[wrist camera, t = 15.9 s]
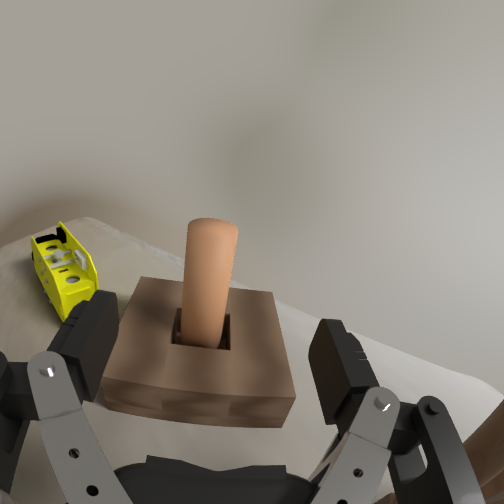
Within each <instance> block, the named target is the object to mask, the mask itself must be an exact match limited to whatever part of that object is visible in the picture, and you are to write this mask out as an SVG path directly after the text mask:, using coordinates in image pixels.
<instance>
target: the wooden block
mask: <svg viewBox="0 0 504 504" xmlns="http://www.w3.org/2000/svg"><path fill="white" fill-rule="evenodd" d="M463 446H464V448H465V451H466V453H467V456H468V458H469V461H470V463H471V466H472V468H473V471H474V473H475V476H476V478H477V481H478V484H479V487H480V489H481V492H482V495H483V498H484V501H485V504H504V400H503V401H502V402H501V403H500V404H499V406H498V407H497V408H496V409H495V410H494V411H493V412H492V414H491V415H490V416H489V417H488V418H487V419H486V420H485V421H484V422H483V423H482V425H481V426H480V427H479V428H478V429H477V430H476V431H475V432H474V433H473V434H472V435H471V436H470V437H469V438H468V439H467V440H466V441H465V442H464V443H463ZM375 504H398V503H397V499H396V495H395V493H390V494H388V495H386V496H385V497H384V498H382V499H381V500H379V501H378V502H376V503H375Z"/></svg>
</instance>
